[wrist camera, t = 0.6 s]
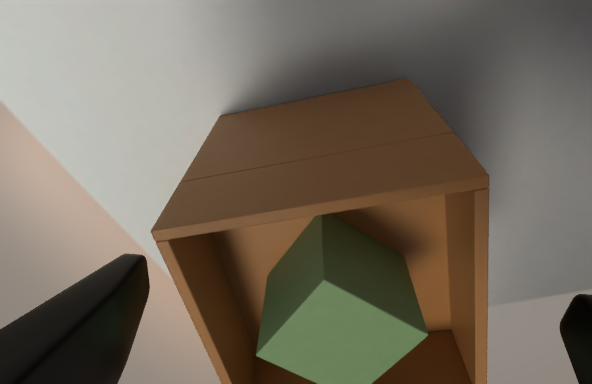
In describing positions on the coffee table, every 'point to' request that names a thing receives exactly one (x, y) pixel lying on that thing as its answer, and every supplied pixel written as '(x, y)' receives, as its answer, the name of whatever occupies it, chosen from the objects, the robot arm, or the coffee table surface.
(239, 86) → the coffee table surface
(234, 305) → the box
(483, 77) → the coffee table surface
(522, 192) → the coffee table surface
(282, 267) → the block
